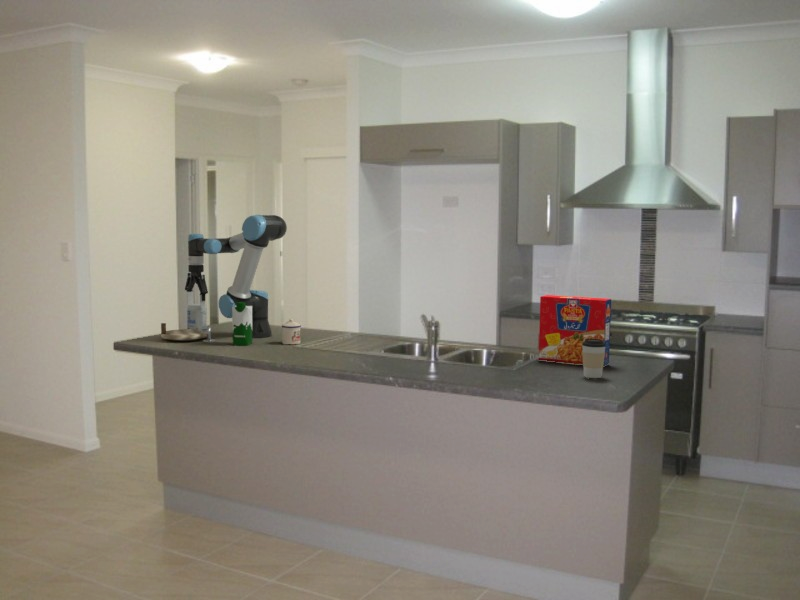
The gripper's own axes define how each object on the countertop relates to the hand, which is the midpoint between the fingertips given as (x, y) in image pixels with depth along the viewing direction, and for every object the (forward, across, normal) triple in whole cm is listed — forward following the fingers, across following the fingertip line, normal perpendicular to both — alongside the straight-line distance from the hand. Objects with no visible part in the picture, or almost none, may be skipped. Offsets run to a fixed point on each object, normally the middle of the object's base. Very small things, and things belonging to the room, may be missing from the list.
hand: (196, 305), depth 417 cm
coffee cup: (+11, +196, +67) cm, 207 cm away
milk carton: (+14, +46, 0) cm, 48 cm away
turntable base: (+14, +16, -15) cm, 26 cm away
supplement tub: (+14, 0, 0) cm, 14 cm away
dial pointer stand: (+14, +28, -9) cm, 33 cm away
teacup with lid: (+13, +57, +21) cm, 62 cm away
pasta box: (+12, +173, +85) cm, 193 cm away
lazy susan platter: (+12, +16, -15) cm, 25 cm away
